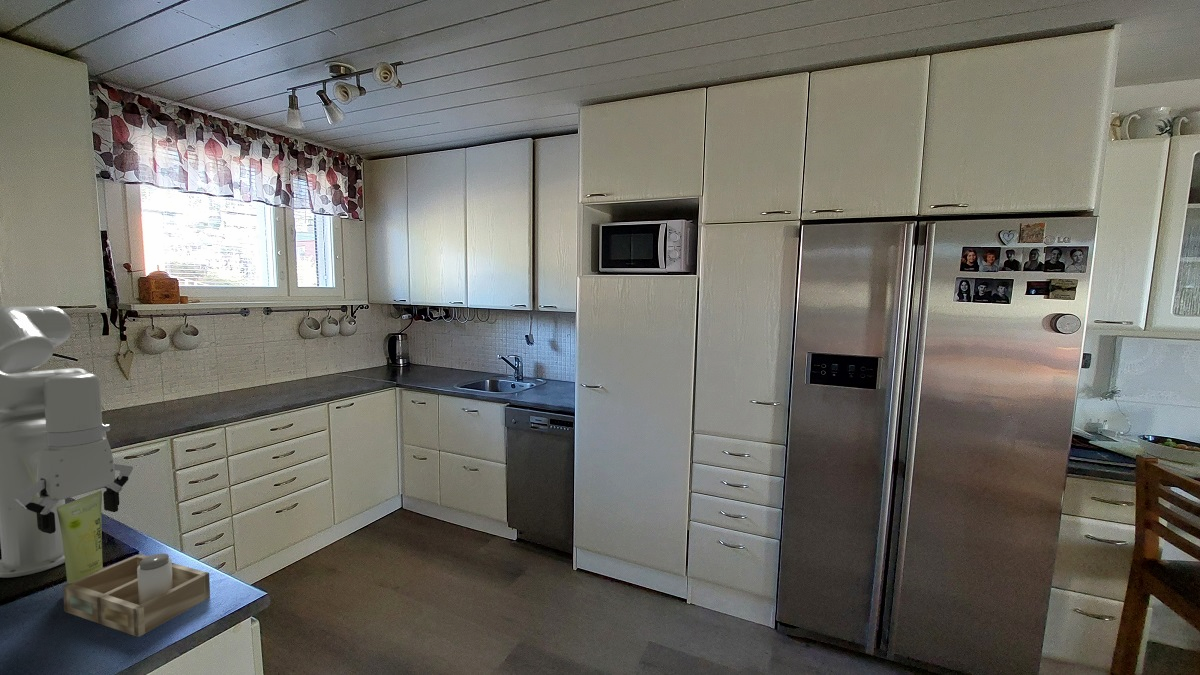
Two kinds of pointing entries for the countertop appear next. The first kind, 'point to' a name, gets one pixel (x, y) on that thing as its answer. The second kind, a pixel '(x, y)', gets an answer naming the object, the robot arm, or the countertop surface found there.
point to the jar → (154, 577)
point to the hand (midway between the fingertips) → (81, 520)
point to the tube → (81, 536)
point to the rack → (133, 597)
